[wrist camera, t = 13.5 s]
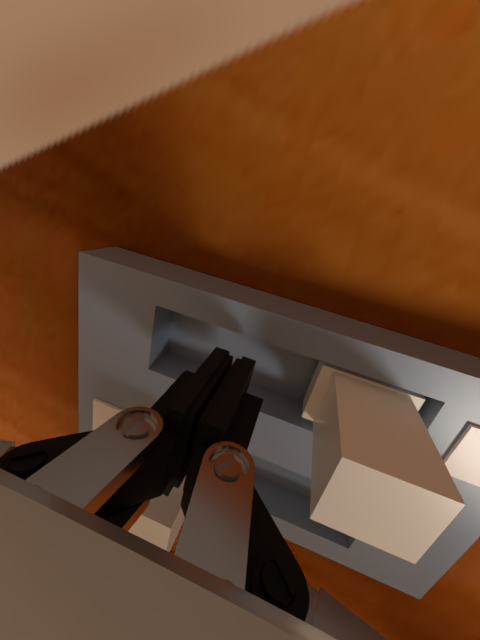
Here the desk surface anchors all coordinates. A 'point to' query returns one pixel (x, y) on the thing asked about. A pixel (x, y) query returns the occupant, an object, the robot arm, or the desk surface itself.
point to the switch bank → (273, 387)
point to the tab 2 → (376, 464)
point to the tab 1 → (161, 519)
